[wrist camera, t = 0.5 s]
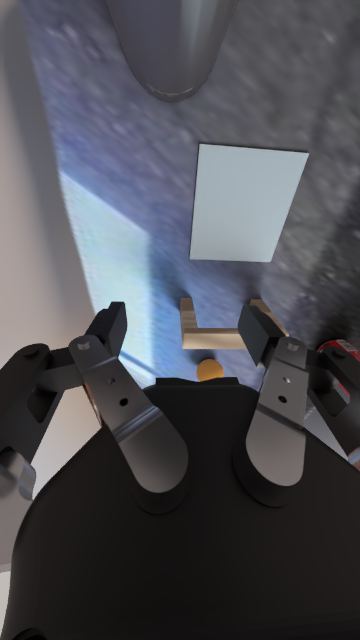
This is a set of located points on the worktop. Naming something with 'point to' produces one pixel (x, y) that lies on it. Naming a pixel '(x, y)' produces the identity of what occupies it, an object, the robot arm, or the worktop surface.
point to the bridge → (214, 329)
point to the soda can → (345, 346)
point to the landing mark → (242, 201)
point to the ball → (209, 370)
